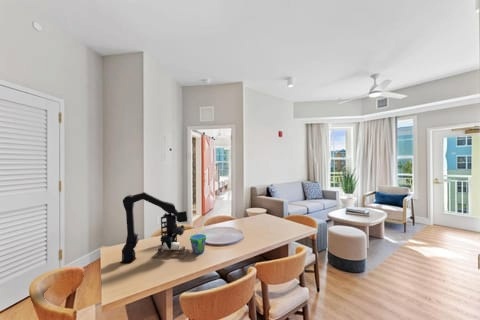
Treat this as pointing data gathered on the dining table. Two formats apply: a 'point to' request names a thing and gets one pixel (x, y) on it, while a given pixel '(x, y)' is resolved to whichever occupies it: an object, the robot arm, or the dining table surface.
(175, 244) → the roll
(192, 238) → the snack cup
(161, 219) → the holder
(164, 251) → the cradle
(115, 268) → the dining table surface
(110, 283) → the dining table surface
